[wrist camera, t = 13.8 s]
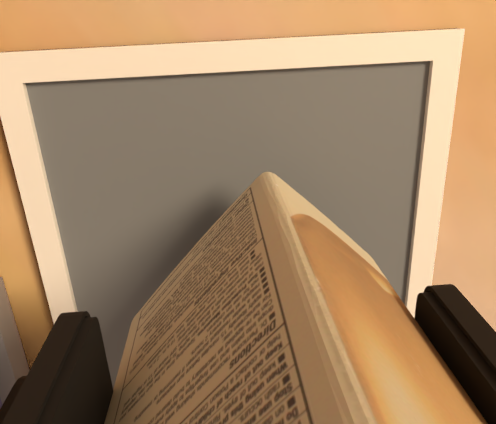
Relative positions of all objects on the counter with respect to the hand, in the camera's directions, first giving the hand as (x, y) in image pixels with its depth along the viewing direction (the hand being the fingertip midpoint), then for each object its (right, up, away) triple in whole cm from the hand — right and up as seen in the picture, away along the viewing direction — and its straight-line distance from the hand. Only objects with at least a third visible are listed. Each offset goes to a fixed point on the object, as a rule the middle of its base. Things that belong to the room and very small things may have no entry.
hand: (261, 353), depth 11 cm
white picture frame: (-1, +2, +5) cm, 5 cm away
